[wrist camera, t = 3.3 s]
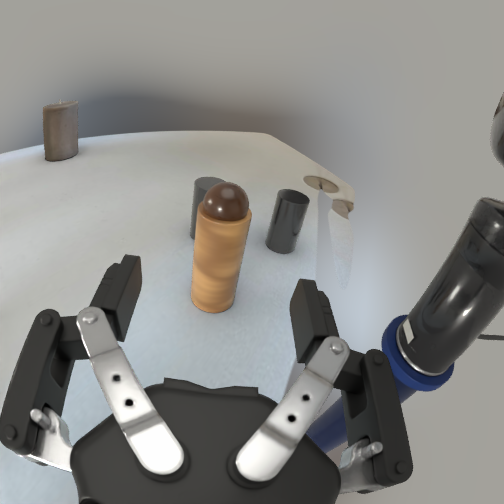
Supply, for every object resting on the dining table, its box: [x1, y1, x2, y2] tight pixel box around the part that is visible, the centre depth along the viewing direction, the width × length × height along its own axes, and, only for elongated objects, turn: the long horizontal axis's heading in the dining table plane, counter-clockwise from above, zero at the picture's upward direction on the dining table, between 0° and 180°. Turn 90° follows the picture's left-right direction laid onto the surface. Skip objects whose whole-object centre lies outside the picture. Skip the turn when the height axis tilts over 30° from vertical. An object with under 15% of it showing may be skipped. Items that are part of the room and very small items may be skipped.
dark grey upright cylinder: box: [265, 189, 310, 254], centre depth 40 cm, size 4×4×8 cm
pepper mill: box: [191, 182, 252, 313], centre depth 27 cm, size 5×5×14 cm
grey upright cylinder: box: [190, 177, 225, 240], centre depth 38 cm, size 4×4×8 cm
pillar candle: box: [43, 100, 78, 161], centre depth 53 cm, size 10×10×15 cm
